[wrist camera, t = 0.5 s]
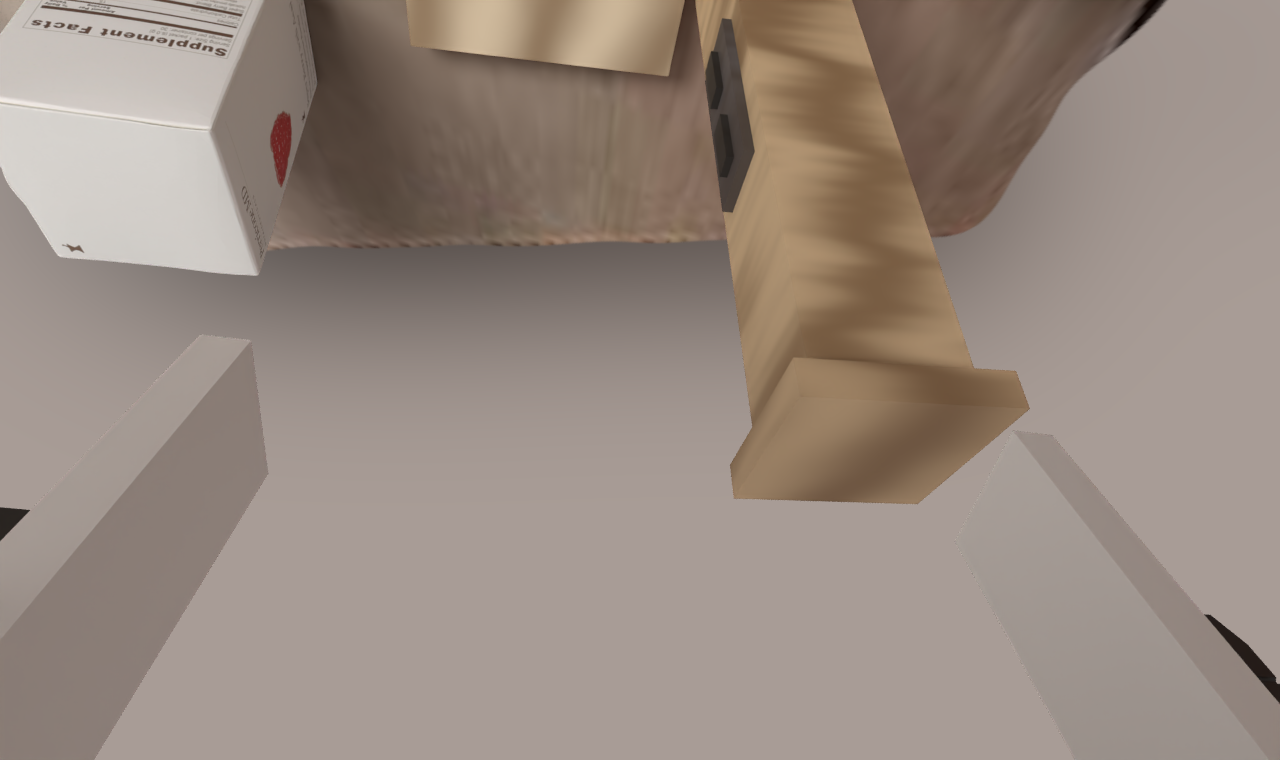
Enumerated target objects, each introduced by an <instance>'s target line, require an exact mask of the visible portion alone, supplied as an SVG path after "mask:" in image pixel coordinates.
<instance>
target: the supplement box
mask: <svg viewBox="0 0 1280 760" xmlns="http://www.w3.org/2000/svg"><path fill="white" fill-rule="evenodd" d="M316 87H317V77H316V71H315V65H314V58H313V52H312V47H311V40H310V34H309V29H308V23H307V17H306V11H305V5H304V0H25V1H24V2H23V4H22V5H21V6H20V8H19V9H18V10H17V12H16V13H15V15H14V16H13V17H12V19H11V20H10V21H9V23H8V24H7V26H6V27H5V28H4V30H3V31H2V32H1V34H0V167H1V168H2V171H3V174H4V176H5V179H6V181H7V182H8V184H9V186H10V187H11V189H12V190H13V191H14V193H15V194H16V195H17V196H18V197H19V199H20V200H21V201H22V202H23V203H24V204H25V205H26V207H27V208H28V210H29V212H30V213H31V215H32V216H33V218H34V219H35V221H36V222H37V224H38V226H39V227H40V229H41V230H42V232H43V234H44V235H45V237H46V239H47V240H48V242H49V243H50V245H51V246H52V248H53V249H54V251H55V252H56V254H57V255H58V256H59V257H65V258H76V259H89V260H102V261H113V262H123V263H134V264H146V265H154V266H164V267H174V268H181V269H189V270H197V271H205V272H214V273H223V274H237V275H254V276H256V275H259V273H260V270H261V266H262V264H263V260H264V257H265V254H266V251H267V247H268V244H269V241H270V238H271V235H272V231H273V228H274V225H275V222H276V218H277V215H278V211H279V208H280V205H281V201H282V198H283V195H284V191H285V188H286V185H287V181H288V178H289V175H290V172H291V168H292V165H293V162H294V158H295V155H296V152H297V148H298V145H299V142H300V138H301V135H302V132H303V129H304V125H305V122H306V119H307V116H308V113H309V109H310V106H311V103H312V99H313V96H314V93H315V90H316Z"/></svg>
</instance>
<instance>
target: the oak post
mask: <svg viewBox="0 0 1280 760" xmlns="http://www.w3.org/2000/svg"><path fill="white" fill-rule="evenodd" d="M695 4H696V11H697V19H698V26H699V33H700V41H701V48H702V56H703V63H704V71H705V78H706V80H705V84H706V91H707V99H708V106H709V114H710V121H711V129H712V136H713V144H714V151H715V159H716V166H717V173H718V181H719V188H720V196H721V203H722V211H723V212H724V219H725V227H726V234H727V241H728V249H729V256H730V264H731V271H732V278H733V286H734V293H735V301H736V308H737V316H738V323H739V331H740V338H741V344H742V353H743V360H744V367H745V375H746V382H747V390H748V397H749V405H750V412H751V419H752V429H751V430H750V432H749V434H748V435H747V437H746V439H745V441H744V442H743V444H742V446H741V447H740V449H739V451H738V453H737V454H736V456H735V458H734V459H733V461H732V463H731V464H730V469H731V477H732V486H733V495H734V498H735V499H767V500H770V499H771V500H801V501H832V502H836V501H837V502H865V503H897V504H898V503H899V504H918V503H919V502H920V501H922V500H923V499H924V498H925V497H926V496H928V495H929V494H930V493H931V492H932V491H933V490H935V489H936V488H937V487H938V486H939V485H940V484H942V483H943V482H944V481H945V480H946V479H948V478H949V477H950V476H951V475H952V474H953V473H954V472H956V471H957V470H958V469H959V468H961V467H962V466H963V465H964V464H965V463H967V461H969V460H970V459H971V458H972V457H974V456H975V455H976V454H977V453H978V452H979V451H981V450H982V449H983V448H984V447H985V446H987V445H988V444H989V443H990V442H991V441H992V440H994V439H995V438H996V437H997V436H998V435H1000V434H1001V433H1002V432H1003V431H1004V430H1005V429H1007V428H1008V427H1009V426H1010V425H1011V424H1013V423H1014V422H1015V421H1016V420H1017V419H1018V418H1020V417H1021V416H1022V415H1023V414H1024V413H1025V412H1027V411H1028V410H1029V409H1030V408H1029V405H1028V403H1027V400H1026V397H1025V394H1024V391H1023V389H1022V386H1021V383H1020V381H1019V378H1018V375H1017V372H1016V371H1008V370H1006V371H1005V370H991V369H975V368H974V367H973V364H972V361H971V358H970V355H969V352H968V349H967V346H966V343H965V340H964V337H963V334H962V331H961V328H960V325H959V322H958V319H957V315H956V312H955V310H954V306H953V303H952V301H951V297H950V295H949V291H948V288H947V285H946V283H945V279H944V276H943V273H942V271H941V267H940V264H939V261H938V258H937V255H936V252H935V249H934V246H933V243H932V240H931V237H930V234H929V231H928V228H927V225H926V222H925V219H924V216H923V213H922V210H921V207H920V204H919V201H918V198H917V195H916V192H915V189H914V186H913V183H912V180H911V177H910V174H909V171H908V168H907V165H906V162H905V159H904V156H903V153H902V150H901V147H900V144H899V141H898V138H897V135H896V132H895V129H894V126H893V123H892V120H891V117H890V114H889V111H888V108H887V105H886V102H885V99H884V96H883V93H882V90H881V87H880V84H879V81H878V78H877V75H876V72H875V69H874V66H873V63H872V60H871V56H870V53H869V50H868V47H867V44H866V41H865V38H864V35H863V32H862V29H861V26H860V23H859V20H858V17H857V14H856V11H855V8H854V5H853V2H852V0H695Z"/></svg>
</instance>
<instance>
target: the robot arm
mask: <svg viewBox="0 0 1280 760" xmlns="http://www.w3.org/2000/svg"><path fill="white" fill-rule="evenodd" d="M267 475H268V469H267V461H266V453H265V446H264V438H263V429H262V422H261V414H260V406H259V398H258V390H257V382H256V375H255V367H254V359H253V351H252V343H251V340H243V339H235V338H226V337H218V336H210V335H200V336H199V337H198V338H197V339H196V340H195V341H194V342H193V343H192V344H191V345H190V346H189V347H188V348H187V349H186V350H185V351H184V352H183V353H182V355H180V356H179V357H178V358H177V360H176V361H175V362H174V363H173V364H172V365H171V366H170V367H169V368H168V369H167V370H166V371H165V372H164V373H163V374H162V375H161V376H160V377H159V378H158V379H157V380H156V381H155V382H154V383H153V384H152V385H151V386H150V387H149V388H148V389H147V390H146V391H145V392H144V394H143V395H142V396H141V397H140V398H139V399H138V400H137V401H136V402H135V403H134V404H133V405H132V406H131V407H130V408H129V409H128V410H127V411H126V412H125V413H124V414H123V415H122V416H121V417H120V418H119V419H118V420H117V421H116V422H115V423H114V425H113V426H112V427H111V428H110V429H109V430H108V431H107V432H106V433H105V434H104V435H103V436H102V437H101V438H100V439H99V440H98V441H97V442H96V443H95V444H94V445H93V446H92V447H91V448H90V449H89V450H88V451H87V452H86V453H85V455H83V456H82V457H81V459H80V460H79V461H78V462H77V463H76V464H75V465H74V466H73V467H72V468H71V469H70V470H69V471H68V472H67V473H66V474H65V475H64V476H63V477H62V478H61V479H60V480H59V481H58V482H57V483H56V484H55V485H54V486H53V487H52V489H50V491H49V492H48V493H47V494H46V495H45V496H44V497H43V498H42V499H41V500H40V501H39V502H38V503H37V504H36V505H35V506H34V507H33V508H32V509H31V510H23V509H11V508H0V760H94V759H95V757H96V756H97V754H98V752H99V751H100V749H101V747H102V746H103V744H104V742H105V741H106V739H107V738H108V736H109V734H110V733H111V731H112V729H113V728H114V726H115V724H116V723H117V721H118V720H119V718H120V716H121V715H122V713H123V711H124V710H125V708H126V706H127V705H128V703H129V701H130V700H131V698H132V696H133V695H134V693H135V692H136V690H137V688H138V687H139V685H140V683H141V682H142V680H143V678H144V677H145V675H146V674H147V671H148V670H149V669H150V667H151V665H152V664H153V662H154V660H155V659H156V657H157V655H158V653H159V652H160V651H161V649H162V647H163V646H164V644H165V642H166V641H167V639H168V637H169V636H170V634H171V632H172V631H173V629H174V628H175V626H176V624H177V622H178V621H179V619H180V618H181V616H182V614H183V613H184V611H185V609H186V608H187V606H188V605H189V603H190V601H191V600H192V598H193V596H194V595H195V593H196V591H197V590H198V588H199V586H200V585H201V583H202V582H203V580H204V578H205V577H206V575H207V573H208V572H209V570H210V568H211V567H212V565H213V563H214V562H215V560H216V558H217V557H218V555H219V554H220V552H221V550H222V549H223V547H224V545H225V543H226V542H227V540H228V539H229V537H230V535H231V534H232V532H233V531H234V529H235V527H236V526H237V524H238V522H239V521H240V519H241V517H242V515H243V514H244V513H245V511H246V509H247V508H248V506H249V504H250V503H251V501H252V499H253V498H254V496H255V494H256V493H257V491H258V489H259V488H260V486H261V485H262V483H263V481H264V480H265V478H266V476H267ZM955 543H956V545H957V547H958V548H959V550H960V552H961V554H962V556H963V557H964V559H965V561H966V563H967V565H968V567H969V568H970V570H971V572H972V574H973V576H974V578H975V579H976V581H977V583H978V585H979V587H980V588H981V590H982V592H983V594H984V596H985V598H986V599H987V601H988V603H989V605H990V606H991V609H992V610H993V612H994V614H995V616H996V618H997V619H998V621H999V623H1000V625H1001V627H1002V629H1003V630H1004V632H1005V634H1006V636H1007V638H1008V640H1009V641H1010V643H1011V645H1012V647H1013V649H1014V650H1015V652H1016V654H1017V656H1018V658H1019V660H1020V661H1021V663H1022V665H1023V667H1024V669H1025V670H1026V672H1027V674H1028V676H1029V678H1030V680H1031V681H1032V683H1033V685H1034V687H1035V689H1036V691H1037V692H1038V694H1039V696H1040V698H1041V699H1042V701H1043V703H1044V705H1045V707H1046V709H1047V710H1048V712H1049V714H1050V716H1051V718H1052V720H1053V722H1054V723H1055V725H1056V727H1057V729H1058V731H1059V732H1060V734H1061V736H1062V738H1063V740H1064V741H1065V743H1066V745H1067V747H1068V749H1069V751H1070V752H1071V754H1072V756H1073V758H1074V760H1280V684H1277V683H1276V677H1275V676H1274V675H1273V673H1272V672H1271V671H1270V670H1269V669H1268V668H1267V666H1266V665H1265V664H1264V663H1263V662H1262V661H1261V660H1260V658H1259V657H1258V656H1257V655H1256V654H1255V653H1254V652H1253V650H1252V649H1251V648H1250V647H1249V646H1248V645H1247V644H1246V643H1245V642H1243V641H1242V640H1241V639H1240V638H1239V637H1237V636H1236V635H1235V634H1234V633H1232V632H1231V631H1230V630H1228V629H1227V628H1226V627H1225V626H1223V625H1222V624H1221V623H1220V622H1218V621H1217V620H1216V619H1215V618H1213V617H1212V616H1211V615H1205V614H1203V613H1202V612H1201V610H1199V608H1198V607H1197V606H1196V605H1195V603H1194V602H1193V601H1192V600H1191V599H1190V597H1189V596H1188V595H1187V594H1186V593H1185V592H1184V590H1183V589H1182V588H1181V587H1180V586H1179V584H1178V583H1177V582H1176V581H1175V580H1174V579H1173V577H1172V576H1171V575H1170V574H1169V573H1168V572H1167V570H1166V569H1165V568H1164V567H1163V566H1162V564H1161V563H1160V562H1159V561H1158V560H1157V559H1156V557H1155V556H1154V555H1153V554H1152V553H1151V551H1150V550H1149V549H1148V548H1147V547H1146V546H1145V544H1144V543H1143V542H1142V541H1141V540H1140V538H1138V536H1137V535H1136V534H1135V532H1134V531H1133V530H1132V529H1131V528H1130V527H1129V525H1128V524H1127V523H1126V522H1125V521H1124V519H1123V518H1122V517H1121V516H1120V515H1119V514H1118V512H1117V511H1116V510H1115V509H1114V508H1113V507H1112V505H1111V504H1110V503H1109V502H1108V501H1107V500H1106V498H1105V497H1104V496H1103V495H1102V494H1101V492H1100V491H1099V490H1098V489H1097V488H1096V486H1095V485H1094V484H1093V483H1092V482H1091V481H1090V479H1089V478H1088V477H1087V476H1086V475H1085V474H1084V472H1083V471H1082V470H1081V469H1080V468H1079V466H1078V465H1077V464H1076V463H1075V462H1074V460H1073V459H1072V458H1071V457H1070V456H1069V455H1068V453H1067V452H1066V451H1065V450H1064V449H1063V447H1061V445H1060V444H1059V443H1058V442H1057V440H1056V439H1055V438H1054V437H1053V436H1052V435H1047V434H1038V433H1030V432H1021V431H1012V433H1011V435H1010V437H1009V439H1008V441H1007V443H1006V445H1005V446H1004V448H1003V450H1002V452H1001V454H1000V456H999V458H998V460H997V462H996V464H995V466H994V467H993V469H992V471H991V473H990V475H989V477H988V479H987V481H986V483H985V485H984V487H983V489H982V490H981V492H980V494H979V496H978V498H977V500H976V502H975V504H974V506H973V508H972V510H971V512H970V514H969V515H968V517H967V519H966V521H965V523H964V525H963V527H962V529H961V531H960V533H959V534H958V536H957V539H956V540H955Z"/></svg>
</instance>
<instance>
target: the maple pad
mask: <svg viewBox="0 0 1280 760" xmlns="http://www.w3.org/2000/svg"><path fill="white" fill-rule="evenodd" d="M684 2H685V0H406V6H407V16H408V25H409V34H410V44H411V46H416V47H424V48H432V49H441V50H449V51H458V52H466V53H475V54H483V55H491V56H500V57H508V58H517V59H525V60H533V61H542V62H550V63H559V64H567V65H575V66H584V67H592V68H601V69H609V70H618V71H626V72H634V73H643V74H651V75H660V76H668V75H669V71H670V66H671V61H672V57H673V52H674V48H675V43H676V38H677V34H678V29H679V25H680V20H681V15H682V11H683V6H684Z"/></svg>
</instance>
